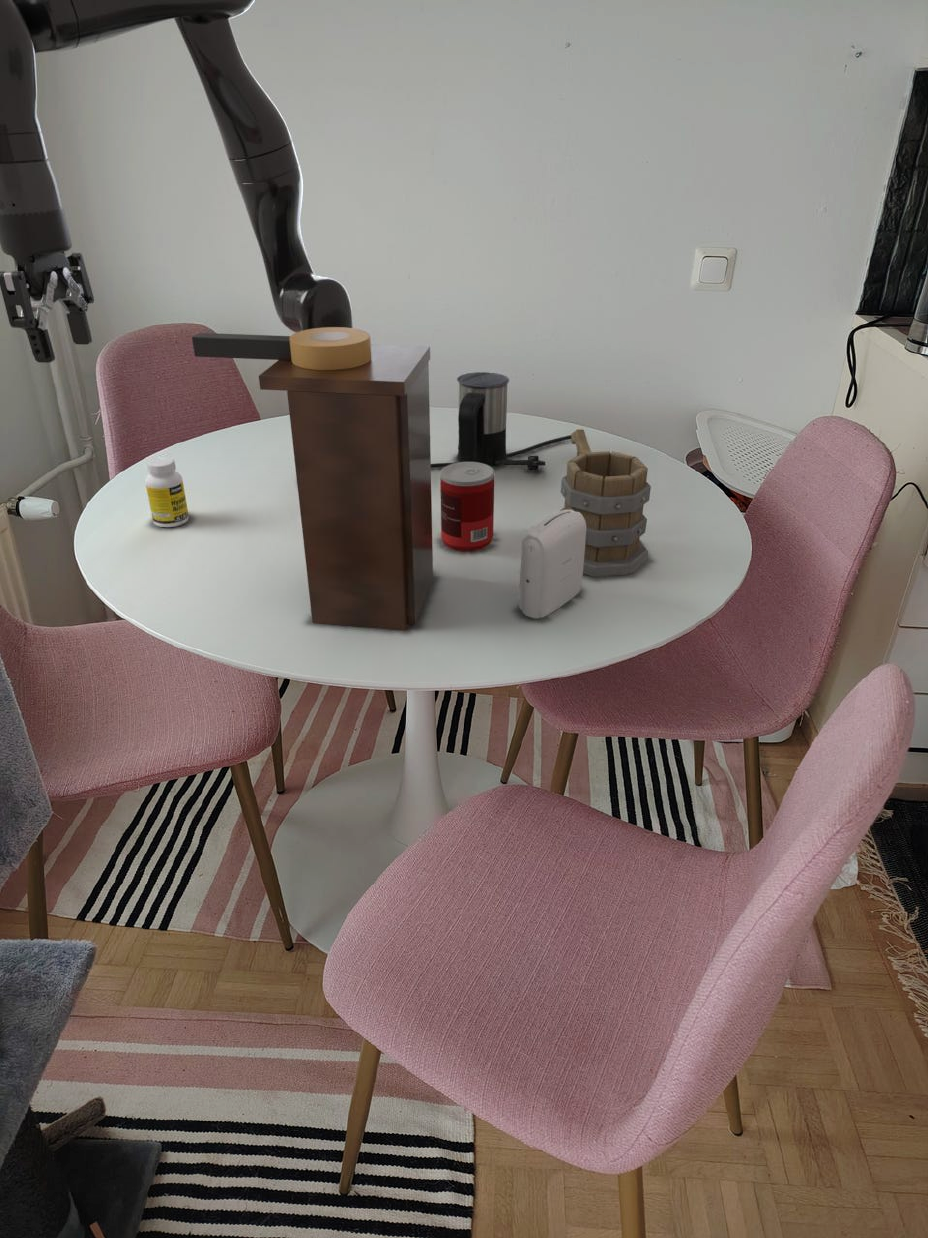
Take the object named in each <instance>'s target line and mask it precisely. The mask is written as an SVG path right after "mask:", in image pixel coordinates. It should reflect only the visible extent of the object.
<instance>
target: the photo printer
mask: <svg viewBox="0 0 928 1238" xmlns="http://www.w3.org/2000/svg"><path fill="white" fill-rule="evenodd" d="M585 540H586V522H585V519H584V517H583V516H582V514H581V513H580V512H575V511H573V510H562V511H560V510H557V511H555V512H553V513H550V514H549V515H546V516H545V517H543V518H542V519H541V520H539V521H538V522H537V523H536V524H534V525H533V526H532V527H531V528H530V529H529V530H528V532H526V534H525V535H524V537H523V539H522V541H521V545H520V571H519V573H520V575H519V576H520V577H519V599H518V600H519V602H518V605H519V606H518V607H519V609H520V610H521V613H522V614H523V615H525V616H526V617H529V618H531V619H537V620H539V619H543V618H545V617H547V616H550V614H551V613H553V612H555V611H556V610H558V609H559V608H561V607H563V606H564V605H565V604H566V603H568V602H569V601H571V600H572V599H573V598H574V597H576V596H577V595H578V594H579V593H580V592H581V590H582V587H583V579H584V578H583V577H584V574H583V566H584V554H585Z"/></svg>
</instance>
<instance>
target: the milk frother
mask: <svg viewBox="0 0 928 1238" xmlns="http://www.w3.org/2000/svg"><path fill="white" fill-rule="evenodd" d="M456 381H457V383H458V414H457V415H458V416H457V417H458V422H457V423H458V443H457V444H458V445H457V455H456V461H457V462H478V463H483V464H486V465H488V466H490V467H492V468H495V467H499V466H503V465H504V466H526V467H527V470H528V471H539V467H544V466H546V463H547V462H546V461H544V460H541V459H540V458H539V455H528V456H527V459H508V458H507V457H506V454H507V412H508V384H509V382H510V378H509V376H506V375H504V374H500V373H497V372H486V371H484V372H483V371H477V372H468V373H465V374H461V375H459V376H458V377H457V378H456Z"/></svg>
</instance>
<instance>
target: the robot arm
mask: <svg viewBox="0 0 928 1238" xmlns="http://www.w3.org/2000/svg"><path fill="white" fill-rule="evenodd" d="M255 1H256V0H0V249H1V251H2V253H4V254H5V255H7V256H10V257H11V258H13V261H14V271H11V270H10V271H8V270H6V271H4V270H3V271H1V270H0V291H1V295H2V299H3V303H4V307H5V311H6V316H7V318H8V323H9V325H10V327H11V328H14V329H22V330H24V331H25V333H26V335H27V339H28V343H29V346H30V350H31V353H32V355H33V358H34V360H35V361H36V362H37V363H39V364H41V363H45V364H46V363H48V364H49V363H53V362H55V360H56V355H55V352H54V348H53V345H52V341H51V337H50V334H49V330H48V328H47V321H48V314H49V313H50V312H51V311H52V310H53V304H55V303H56V302H59V303H60V305H61V306H62V307H63V309H64V310H65V311H66V312H67V313H65V316H66V318H67V322H68V323H67V324H68V327H69V331H70V334H71V339H72V342H73V344H75V345H84V346H85V345H89V344H91V343H92V342H93V338H92V334H91V333H92V332H91V329H90V325H89V322H88V318H87V312H88V310H89V305H90V304H94V301H95V297H94V293H93V289H92V285H91V282H90V278H89V275H88V271H87V268H86V264H85V260H84V257H83V254H82V253H81V252H67V251H70V250H71V249H72V247H73V243H72V238H71V234H70V230H69V226H68V222H67V217H66V213H65V209H64V205H63V201H62V198H61V193H60V190H59V186H58V182H57V178H56V176H55V174H54V171H53V169H52V166H51V162H50V160H49V154H48V151H47V147H46V142H45V138H44V134H43V132H42V127H41V123H40V120H39V116H38V115H39V114H38V95H39V94H38V81H37V80H38V79H37V77H38V76H37V62H36V61H37V60H36V54H41V53H55V52H57V53H58V52H65V51H70V50H74V49H78V48H81V47H85V46H89V45H92V44H96V43H99V42H103V41H105V40H108V39H112V38H115V37H118V36H121V35H123V34H127V33H130V32H133V31H137V30H139V29H142V28H145V27H148V26H152V25H155V24H158V23H161V22H165V21H169V20H173V19H174V22H175V24H176V26H177V28H178V30H179V34H180V35H181V38H182V39H183V42H184V44H185V47H186V48H187V51H188V53H189V55H190V59H191V60H192V62H193V65H194V68H195V69H196V72H197V74H198V77H199V79H200V82H201V84H202V88H203V91H204V93H205V95H206V98H207V101H208V105H209V107H210V109H211V112H212V115H213V118H214V120H215V123H216V126H217V128H218V131H219V134H220V137H221V140H222V143H223V146H224V150H225V154H226V157H227V159H228V162H229V165H230V168H231V171H232V174H233V176H234V177H233V178H234V180H235V183H236V185H237V187H238V191H239V192H240V195H241V198H242V200H243V203H244V206H245V210H246V212H247V215H248V218H249V222H250V224H251V227H252V230H253V233H254V236H255V239H256V242H257V244H258V246H259V247H258V248H259V250H260V254H261V257H262V261H263V264H264V269H265V274H266V277H267V282H268V287H269V290H270V294H271V298H272V302H273V305H274V309H275V311H276V314H277V316H278V318H279V320H280V322H281V323H282V325H284V327H285V328H287V329H288V330H289V331H291V332H293V333H297V332H300V331H303V330H308V329H314V328H325V327H345V328H354V321H353V307H352V302H351V298H350V295H349V292H348V290H347V289H346V287H345V286H344V285H343V284H342V282H340V281H338V280H336V279H334V278H332V277H327V276H323V275H319V274H316V273H315V271H314V269H313V267H312V264H311V261H310V259H309V256H308V252H307V250H306V247H305V243H304V240H303V234H302V228H301V227H302V226H301V225H302V209H303V197H304V196H303V195H304V182H303V174H302V169H301V166H300V162H299V158H298V155H297V153H296V148H295V145H294V142H293V139H292V135H291V133H290V130H289V128H288V125H287V122H286V121H285V118H284V117H283V116H282V114H281V112H280V111H279V109H278V108H277V106H276V105H275V103H274V102H273V101H272V99H271V98H270V96H269V95H268V93H266V91H265V90H264V89H263V87H262V86H261V85H260V83H259V82H258V80H257V79H256V78H255V76H254V75H253V73H252V72H251V70H250V69H249V67H248V65H247V64H246V63H245V60H244V58H243V55H242V54H241V51H240V49H239V46H238V44H237V41H236V37H235V34H234V31H233V28H232V25H231V22H230V19H233V18H236V17H238V16H241V15H243V14H244V13H245V12H247V11H248V10H249V9H250V8H251V7H252V5H253V4H254V3H255ZM79 285H80V286H81V288H80V287H79ZM81 289H82V290H81ZM31 299H32V300H31ZM17 306H18V307H19V308H21V312H20V315H19V314H18V310H17ZM34 313H36V318H35V314H34ZM568 440H572V439H571V434H570V435H565V436H560V437H556V438H552V439H549V440H546V441H542V442H540V443H537V444H534V445H532V446H528V447H526V448H522V449H519V450H515V451H513V452H509V453H506V457H507V459H508V458H512V457H515V456H516V457H517V456H519V455H523V454H526V453H528V452H531V451H534V450H536V449H539V448H542V447H545V446H548V445H552V444H556V443H559V442H564V441H568ZM454 463H458V461H456V462H438V463H437V462H436V463H431V469H435V468H444V467H446V466H448V465H450V464H454Z"/></svg>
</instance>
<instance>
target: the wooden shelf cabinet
mask: <svg viewBox="0 0 928 1238" xmlns="http://www.w3.org/2000/svg"><path fill="white" fill-rule="evenodd" d="M430 360H431V346H421V345H396V344H372V343H371V360H370V362H368V363H367V364H364V365H362V366H359V367H355V368H350V369H342V370H311V369H305V368H301V367H298V366H296V365H294V364H293V363H292V360H276V361H275V362H274V363H273V364H272V365H271V366H269V367H268V368H267V369H265V370H264V371H263V372H261V373H260V374H259V375H258V384H259V389H260V390H262V391H263V390H264V391H266V390H267V391H285V392H286V394H287V403H288V404H287V405H288V413H289V422H290V423H289V424H290V431H291V441H292V449H293V459H294V465H295V466H294V467H295V477H296V485H297V486H296V487H297V494H298V504H299V513H300V522H301V531H302V539H303V549H304V559H305V567H306V577H307V585H308V595H309V596H308V597H309V603H310V605H309V606H310V613H311V622H312V624H323V625H335V626H347V627H359V628H360V627H361V628H372V629H373V628H374V629H386V630H397V631H406V630H407V628H408V626H411V627H412V626H413V627H415V626H416V625H417V622H418V619H419V616H420V614H421V612H422V609H423V607H424V603H425V601H426V598H427V596H428V593H429V590H430V589H431V588H430V587H431V585H432V582H433V580H434V551H433V548H434V547H433V545H434V544H433V507H432V505H433V503H432V499H433V498H432V468H431V464H432V459H431V455H432V454H431V417H430V415H431V411H430V409H431V408H430V370H429V369H430V368H429V367H430V366H429V362H430Z"/></svg>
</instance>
